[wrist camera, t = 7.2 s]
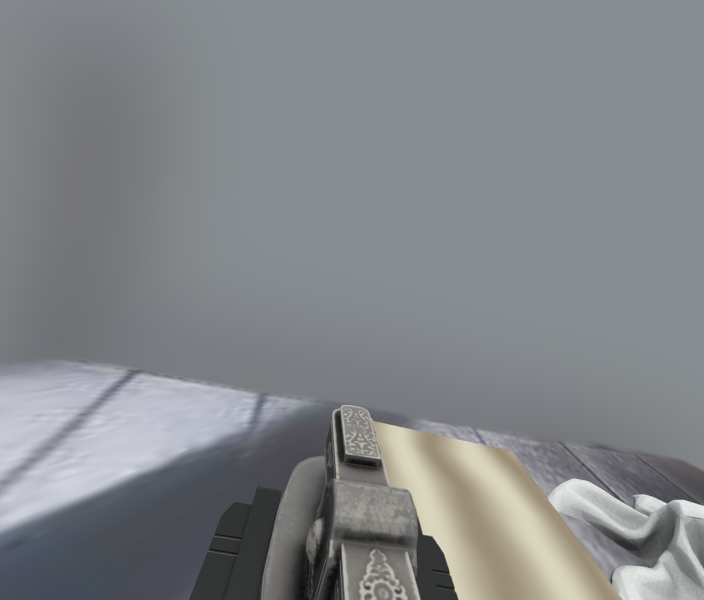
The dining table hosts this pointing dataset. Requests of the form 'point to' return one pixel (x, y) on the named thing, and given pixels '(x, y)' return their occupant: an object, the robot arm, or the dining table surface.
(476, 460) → the base block
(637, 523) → the cloth
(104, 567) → the dining table surface
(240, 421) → the dining table surface
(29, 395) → the dining table surface
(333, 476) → the lighter
